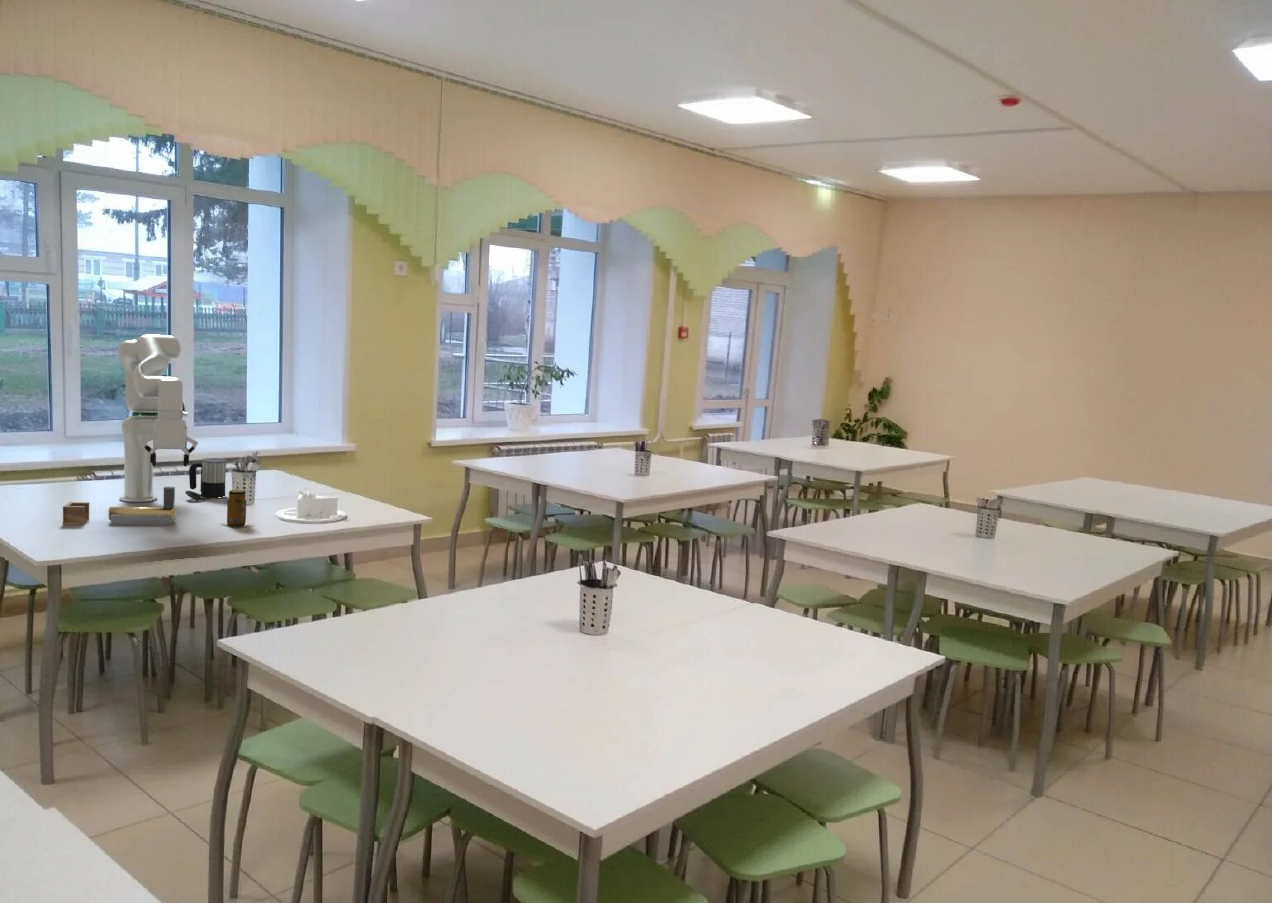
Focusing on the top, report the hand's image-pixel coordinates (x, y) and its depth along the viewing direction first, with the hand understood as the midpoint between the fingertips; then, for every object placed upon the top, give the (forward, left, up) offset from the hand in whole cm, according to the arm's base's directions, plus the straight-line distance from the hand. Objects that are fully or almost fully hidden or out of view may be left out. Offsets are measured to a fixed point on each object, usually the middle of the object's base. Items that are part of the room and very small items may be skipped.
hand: (169, 465), depth 325 cm
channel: (0, -8, -20) cm, 21 cm away
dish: (-13, +46, -21) cm, 52 cm away
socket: (0, -28, -20) cm, 34 cm away
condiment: (+3, +22, -20) cm, 30 cm away
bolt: (0, -8, -20) cm, 21 cm away
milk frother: (-45, +7, -20) cm, 50 cm away
